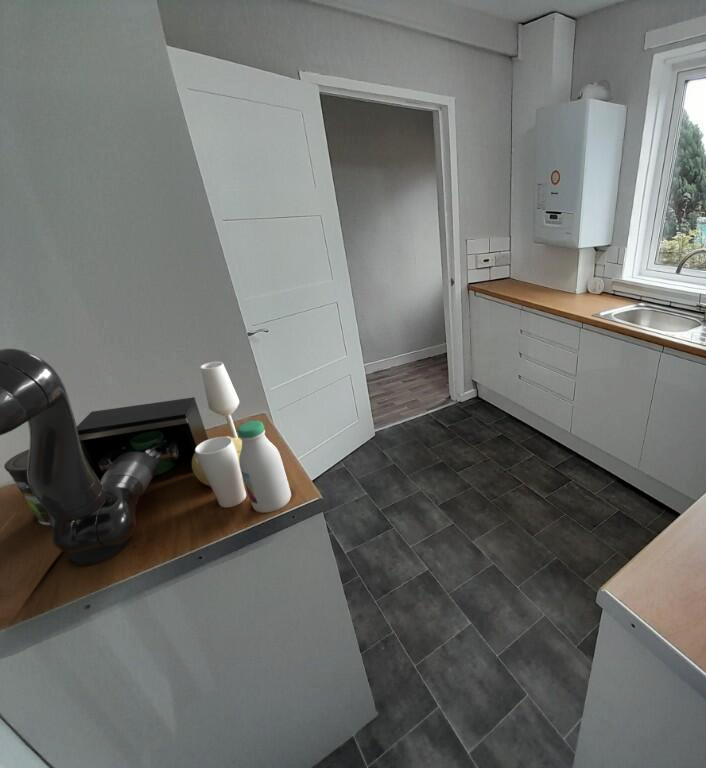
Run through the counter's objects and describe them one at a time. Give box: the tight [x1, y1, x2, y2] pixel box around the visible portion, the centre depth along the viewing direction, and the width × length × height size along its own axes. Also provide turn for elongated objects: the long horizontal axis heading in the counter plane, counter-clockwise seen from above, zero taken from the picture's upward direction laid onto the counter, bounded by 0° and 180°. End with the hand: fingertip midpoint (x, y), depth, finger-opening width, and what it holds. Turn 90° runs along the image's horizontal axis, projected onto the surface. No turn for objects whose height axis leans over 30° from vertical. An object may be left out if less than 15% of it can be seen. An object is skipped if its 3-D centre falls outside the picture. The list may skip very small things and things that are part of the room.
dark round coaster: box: [70, 537, 130, 567], centre depth 78 cm, size 8×8×1 cm
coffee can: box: [3, 448, 51, 526], centre depth 86 cm, size 10×10×14 cm
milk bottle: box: [236, 420, 292, 514], centre depth 88 cm, size 8×8×20 cm
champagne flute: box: [199, 361, 240, 438], centre depth 107 cm, size 7×7×24 cm
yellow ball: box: [191, 435, 243, 487], centre depth 97 cm, size 11×12×11 cm
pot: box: [129, 431, 175, 476], centre depth 100 cm, size 6×6×9 cm
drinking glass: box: [195, 436, 247, 508], centre depth 89 cm, size 7×7×15 cm
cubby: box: [76, 396, 209, 481], centre depth 99 cm, size 20×10×16 cm, turn 115°
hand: (152, 439), depth 101 cm, fingers closed on pot, 6 cm apart
